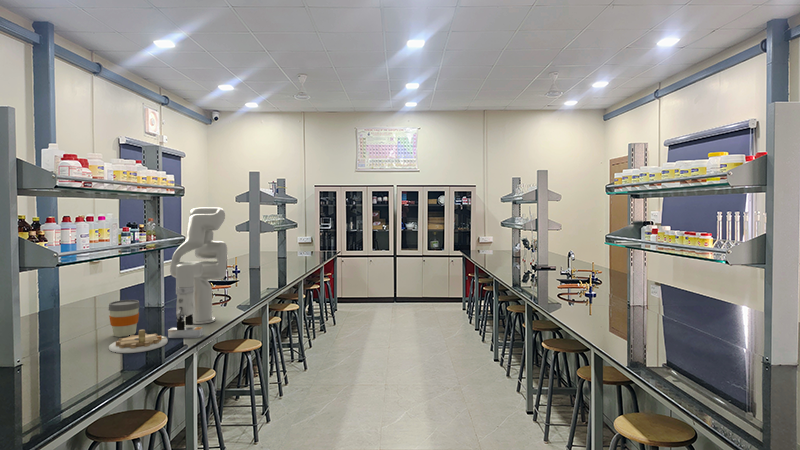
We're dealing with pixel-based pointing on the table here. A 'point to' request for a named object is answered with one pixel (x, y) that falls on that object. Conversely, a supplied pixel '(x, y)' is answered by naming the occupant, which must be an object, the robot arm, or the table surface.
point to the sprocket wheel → (138, 340)
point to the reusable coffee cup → (124, 317)
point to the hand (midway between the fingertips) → (185, 327)
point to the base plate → (138, 349)
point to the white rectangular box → (185, 333)
